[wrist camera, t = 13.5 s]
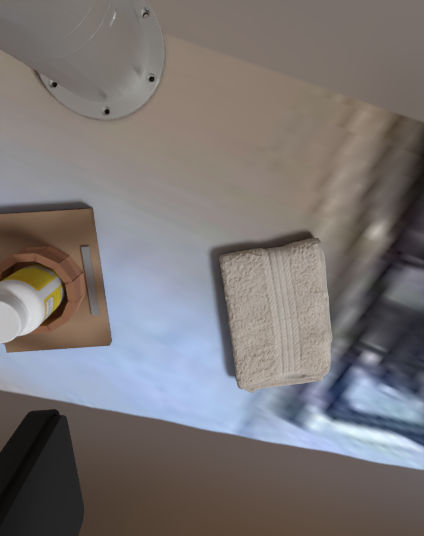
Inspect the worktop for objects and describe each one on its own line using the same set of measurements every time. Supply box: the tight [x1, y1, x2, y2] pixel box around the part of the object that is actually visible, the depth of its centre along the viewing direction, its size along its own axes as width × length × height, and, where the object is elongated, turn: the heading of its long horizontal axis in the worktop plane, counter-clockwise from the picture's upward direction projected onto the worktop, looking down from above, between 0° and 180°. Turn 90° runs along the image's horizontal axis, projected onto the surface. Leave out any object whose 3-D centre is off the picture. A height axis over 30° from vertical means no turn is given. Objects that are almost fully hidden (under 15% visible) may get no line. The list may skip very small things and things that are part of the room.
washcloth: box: [218, 238, 332, 392], centre depth 43 cm, size 12×18×3 cm, turn 9°
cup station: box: [0, 208, 112, 353], centre depth 39 cm, size 16×12×5 cm
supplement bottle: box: [0, 262, 67, 343], centre depth 35 cm, size 5×5×10 cm
